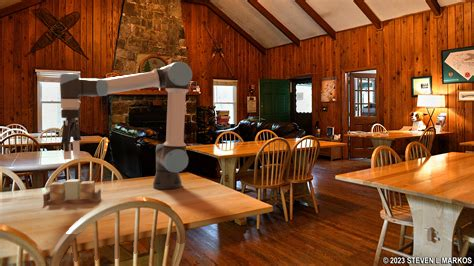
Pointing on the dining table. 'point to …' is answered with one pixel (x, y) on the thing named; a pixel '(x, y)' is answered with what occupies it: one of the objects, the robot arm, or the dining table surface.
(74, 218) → the dining table surface
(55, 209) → the dining table surface
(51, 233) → the dining table surface
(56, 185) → the cradle
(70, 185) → the beige rectangular block
